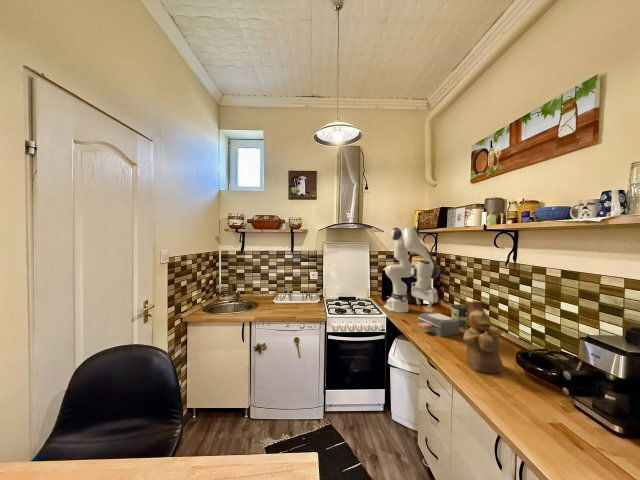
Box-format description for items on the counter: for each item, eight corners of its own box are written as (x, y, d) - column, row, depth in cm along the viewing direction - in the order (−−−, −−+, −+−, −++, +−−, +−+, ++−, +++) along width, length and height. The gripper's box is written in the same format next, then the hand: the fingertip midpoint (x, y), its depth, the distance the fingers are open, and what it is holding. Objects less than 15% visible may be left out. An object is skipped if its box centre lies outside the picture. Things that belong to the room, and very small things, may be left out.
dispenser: (417, 326, 174) (418, 314, 174) (436, 323, 180) (436, 311, 180) (439, 337, 156) (439, 323, 156) (459, 333, 162) (459, 320, 162)
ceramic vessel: (473, 373, 115) (474, 309, 114) (454, 351, 137) (455, 297, 136) (510, 376, 113) (512, 311, 112) (485, 354, 134) (486, 299, 134)
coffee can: (468, 325, 177) (469, 306, 177) (466, 329, 169) (467, 309, 169) (452, 322, 183) (452, 303, 183) (449, 326, 175) (450, 306, 175)
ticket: (417, 325, 166) (417, 323, 166) (441, 321, 173) (441, 320, 173) (423, 328, 161) (424, 326, 161) (447, 324, 167) (447, 322, 167)
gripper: (440, 288, 155) (440, 310, 155) (417, 282, 174) (416, 301, 174) (432, 288, 152) (432, 311, 153) (409, 282, 172) (409, 302, 172)
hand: (423, 306), depth 163 cm, fingers open, 8 cm apart
